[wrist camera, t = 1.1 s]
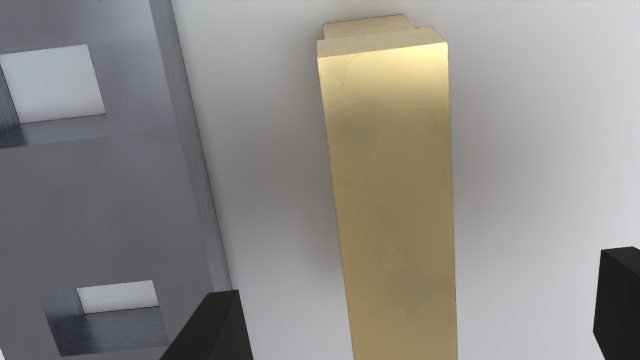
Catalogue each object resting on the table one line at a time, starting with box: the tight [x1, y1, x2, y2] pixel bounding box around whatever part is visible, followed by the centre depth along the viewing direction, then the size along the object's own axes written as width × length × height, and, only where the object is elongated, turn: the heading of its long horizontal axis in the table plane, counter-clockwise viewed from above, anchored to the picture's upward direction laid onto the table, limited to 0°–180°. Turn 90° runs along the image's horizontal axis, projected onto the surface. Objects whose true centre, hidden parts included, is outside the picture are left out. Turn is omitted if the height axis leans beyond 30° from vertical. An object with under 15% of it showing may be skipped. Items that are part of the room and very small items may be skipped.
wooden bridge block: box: [317, 14, 458, 360], centre depth 19 cm, size 10×3×6 cm, turn 7°
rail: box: [0, 0, 232, 360], centre depth 21 cm, size 24×8×2 cm, turn 7°
